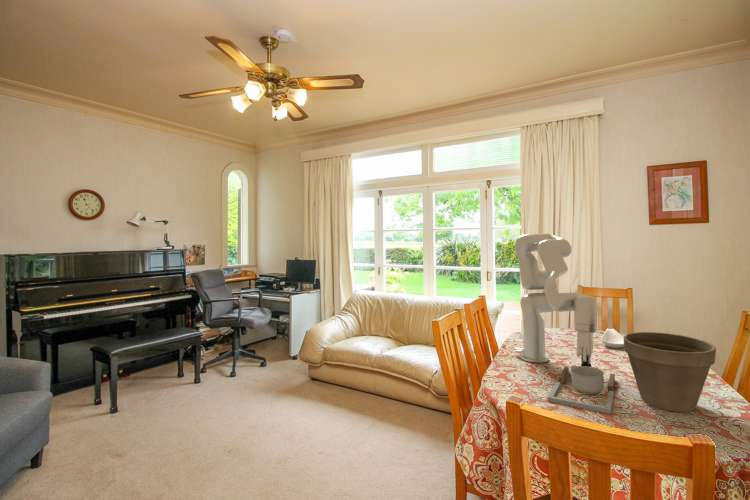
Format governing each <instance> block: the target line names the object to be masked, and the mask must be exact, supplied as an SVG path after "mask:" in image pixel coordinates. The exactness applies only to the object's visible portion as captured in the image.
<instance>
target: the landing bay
mask: <svg viewBox="0 0 750 500" xmlns="http://www.w3.org/2000/svg"><path fill="white" fill-rule="evenodd" d="M561 385H562V384H560V382H559V381H555V383H554V385H553V387H552V388H551V390H550V392H549V393H548V396H547V402H550V403H555V404H560V405H564V406H569V407H575V408H578V409H583V410H588V411H594V412H598V413H602V414H607V415H612V411H613V404H614V398H615V392H614V391H613V392H612V391H609V392H607V393H608V394H607V399H606V404H605V406H603V405H599V404H593V403H589V402H588V403H587V402H583V401H578V400H573V399H568V398H562V397H558V396H557V394H558V392H559V390H560V387H562V386H561Z"/></svg>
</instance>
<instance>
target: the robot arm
mask: <svg viewBox="0 0 750 500" xmlns="http://www.w3.org/2000/svg"><path fill="white" fill-rule="evenodd" d="M514 252H515V256H516V258H517V262H518V267H519V274H520V275H519V276H520V282H521V286H522V288H523V289H524V290H526V291H540V290H541V292H530V293H526V294H524V295H522V296H521V298H520V309H521V313H522V314H521V315H522V331H523V332H522V333H523V337H522V338H523V340H522V341H523V347H521V348H519V347H514V352H515V353H517V354H520V359H521V360H522V361H525V362H529V363H537V364H538V363H539V364H541V363H543V364H544V363H547V362H549V361H550V357H549V356H548V355H546V332H545V331H546V329H545V320H544V319H543V317H542V315H541V314H542V313H552V312H557V313H558V312H559V313H562V312H573V314H574V315H573V318H574V320H573V321H574V331H575V332H577V333H576V357H577V358H579V357H581V364H580V366H589V367H592V363H591V358H592V356H593V351H594V334H595V333H597V300H596V297H594V296H593V295H588V294H584V293H582V292H575V291H574V292H560V293H559V291H558V286H557V285H558V284H557V279H558V278H560V277H562V276H564V275H565V274H566V273H568V270H569V267H568V265H567V263H566V261H565V259H564V258H567V257H569V256H570V255H571V254H572V246H571V244H570V242H569V241H568V240H567V239H565V238H563V237H560V236H557V235H554V234H552V233H527V234H526V233H524V234H521V235H519V236H518V237H517V238H516V240H515V242H514ZM532 252H537V253H538V255H539V258H540V261H541V263H542V266H543V267H544V269H539V263H538V259H537V258H536V256H535V255H534V254H533V253H532Z"/></svg>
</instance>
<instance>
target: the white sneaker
mask: <svg viewBox="0 0 750 500" xmlns="http://www.w3.org/2000/svg"><path fill="white" fill-rule="evenodd" d="M600 341H601V343H602V344H604V345H605V346H606V347H608V348H611V349H621V348H624V336H623V335H621V334H620V333H619V332H618V331H617V329H614V328H606V329H605V331H604V333H603V334H602V335H601V337H600Z"/></svg>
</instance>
